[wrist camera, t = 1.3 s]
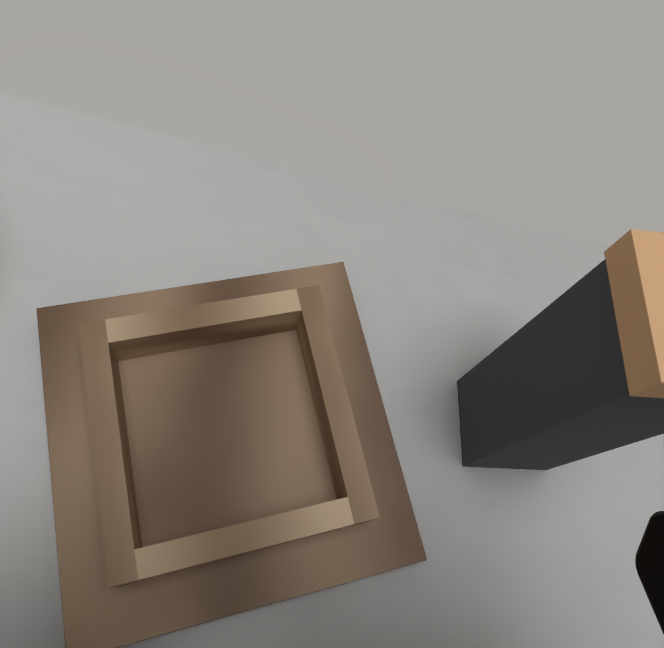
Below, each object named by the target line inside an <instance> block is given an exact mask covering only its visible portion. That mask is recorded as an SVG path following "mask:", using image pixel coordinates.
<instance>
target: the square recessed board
mask: <svg viewBox="0 0 664 648" xmlns="http://www.w3.org/2000/svg"><path fill="white" fill-rule="evenodd" d="M37 318H38V330H39V341H40V353H41V365H42V377H43V388H44V400H45V412H46V423H47V435H48V447H49V458H50V470H51V482H52V493H53V505H54V517H55V529H56V540H57V552H58V564H59V575H60V587H61V599H62V610H63V622H64V634H65V646H66V648H116V647H120V646H123V645H127V644H131V643H134V642H138V641H141V640H145V639H148V638H152V637H155V636H159V635H162V634H166V633H170V632H173V631H177V630H180V629H184V628H187V627H191V626H194V625H198V624H202V623H205V622H209V621H212V620H216V619H219V618H223V617H226V616H230V615H234V614H237V613H241V612H244V611H248V610H251V609H255V608H258V607H262V606H266V605H269V604H273V603H276V602H280V601H283V600H287V599H290V598H294V597H298V596H301V595H305V594H308V593H312V592H315V591H319V590H322V589H326V588H330V587H333V586H337V585H340V584H344V583H347V582H351V581H354V580H358V579H361V578H365V577H369V576H372V575H376V574H379V573H383V572H386V571H390V570H393V569H397V568H401V567H404V566H408V565H411V564H415V563H418V562H422V561H425V560H427V559H426V555H425V552H424V548H423V545H422V541H421V538H420V534H419V531H418V527H417V523H416V520H415V516H414V513H413V509H412V506H411V502H410V498H409V495H408V491H407V488H406V484H405V481H404V477H403V473H402V470H401V466H400V463H399V459H398V456H397V452H396V449H395V445H394V441H393V438H392V434H391V431H390V427H389V424H388V420H387V416H386V413H385V409H384V406H383V402H382V399H381V395H380V391H379V388H378V384H377V381H376V377H375V374H374V370H373V367H372V363H371V359H370V356H369V352H368V349H367V345H366V342H365V338H364V334H363V331H362V327H361V324H360V320H359V317H358V313H357V309H356V306H355V302H354V299H353V295H352V292H351V288H350V285H349V281H348V277H347V274H346V270H345V267H344V263H343V262H339V263H333V264H326V265H320V266H313V267H306V268H300V269H293V270H287V271H280V272H273V273H267V274H260V275H254V276H247V277H241V278H234V279H227V280H221V281H214V282H208V283H201V284H194V285H188V286H181V287H175V288H168V289H162V290H155V291H148V292H142V293H135V294H129V295H122V296H116V297H109V298H102V299H96V300H89V301H83V302H76V303H69V304H63V305H56V306H50V307H43V308H37Z"/></svg>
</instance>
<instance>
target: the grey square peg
mask: <svg viewBox="0 0 664 648" xmlns="http://www.w3.org/2000/svg"><path fill="white" fill-rule="evenodd" d="M604 254H605V260H604V261H602V262H601V263H600V264H599V265H598V266H596V267H595V268H594V269H593V270H591V271H590V272H589V273H588V274H587V275H585V276H584V277H583V278H582V279H581V280H579V281H578V282H577V283H576V284H574V285H573V286H572V287H571V288H570V289H568V290H567V291H566V292H565V293H564V294H562V295H561V296H560V297H559V298H557V299H556V300H555V301H554V302H553V303H551V304H550V305H549V306H548V307H547V308H545V309H544V310H543V311H542V312H541V313H539V314H538V315H537V316H536V317H534V318H533V319H532V320H531V321H530V322H528V323H527V324H526V325H525V326H524V327H522V328H521V329H520V330H519V331H517V332H516V333H515V334H514V335H513V336H511V337H510V338H509V339H508V340H507V341H505V342H504V343H503V344H502V345H500V346H499V347H498V348H497V349H496V350H494V351H493V352H492V353H491V354H490V355H488V356H487V357H486V358H485V359H483V360H482V361H481V362H480V363H479V364H477V365H476V366H475V367H474V368H473V369H471V370H470V371H469V372H468V373H467V374H465V375H464V376H463V377H462V378H460V379H459V380H458V381H457V384H458V399H459V414H460V429H461V444H462V459H463V466H467V467H490V468H514V469H537V470H548V469H551V468H554V467H557V466H560V465H564V464H567V463H570V462H573V461H576V460H580V459H583V458H586V457H589V456H593V455H596V454H599V453H602V452H605V451H609V450H612V449H615V448H618V447H621V446H625V445H628V444H631V443H634V442H638V441H641V440H644V439H647V438H650V437H654V436H657V435H660V434H663V433H664V233H662V232H651V231H643V230H633V229H631V230H629V231H628V232H627V233H626V234H625V235H624V236H623V237H621V238H620V239H619V240H618V241H616V242H615V243H614V244H613V245H612V246H611V247H609V248H608V249H607V250H606V251H605V252H604Z"/></svg>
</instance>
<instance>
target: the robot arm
mask: <svg viewBox="0 0 664 648" xmlns="http://www.w3.org/2000/svg"><path fill="white" fill-rule="evenodd" d="M635 562H636V569H637V573H638V575H639V578H640V580H641V582H642V585H643V587H644V589H645V592H646V594H647V597H648V599H649V601H650V604H651V606H652V608H653V611H654V613H655V615H656V618H657V620H658V622H659V625H660V627H661V629H662V632H663V634H664V511H659V512H656V513H654V514H653V515H652V516H651V518H650V520H649V522H648V525H647V527H646V530H645V532H644V535H643V538H642V540H641V543H640V545H639V548H638V550H637V553H636V559H635Z"/></svg>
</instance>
